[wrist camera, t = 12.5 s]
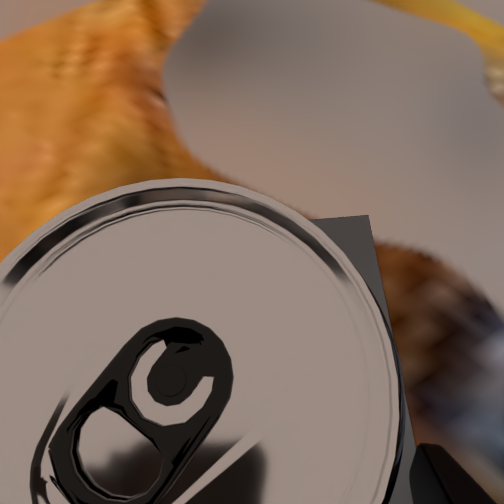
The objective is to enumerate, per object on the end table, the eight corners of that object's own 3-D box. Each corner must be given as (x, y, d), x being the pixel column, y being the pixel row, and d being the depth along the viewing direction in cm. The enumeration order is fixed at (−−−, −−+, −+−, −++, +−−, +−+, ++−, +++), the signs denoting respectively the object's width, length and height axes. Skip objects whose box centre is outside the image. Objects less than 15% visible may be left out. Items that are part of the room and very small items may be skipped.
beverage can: (101, 416, 16) (-252, 450, 5) (210, 278, 18) (140, 67, 7) (245, 538, 15) (222, 983, 3) (346, 374, 17) (547, 316, 5)
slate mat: (439, 582, 15) (444, 587, 14) (34, 628, 14) (28, 634, 14) (365, 218, 19) (368, 214, 19) (60, 244, 19) (56, 241, 19)
